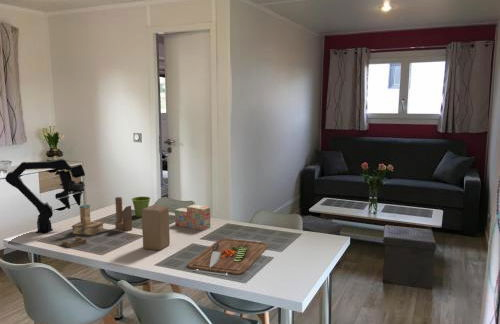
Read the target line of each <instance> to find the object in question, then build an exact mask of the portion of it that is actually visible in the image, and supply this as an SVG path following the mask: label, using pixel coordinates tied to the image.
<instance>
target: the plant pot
mask: <svg viewBox="0 0 500 324" xmlns="http://www.w3.org/2000/svg"><path fill="white" fill-rule="evenodd" d="M150 200H151V196H136V197H135V196H134V197H132V198H131V201H132V204H133V209H134V213H135V217H137V218H142V209H145V208H147V207H149V205H150Z"/></svg>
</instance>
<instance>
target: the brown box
mask: <svg viewBox="0 0 500 324" xmlns="http://www.w3.org/2000/svg"><path fill="white" fill-rule="evenodd" d="M71 228H72V234H74V235H86V236H87V235H89V236H95V235H97V234H99V233H102V231H104V222H102V221H91V225H88V226H81V221H79V222H78V223H75V224H73V225H71Z"/></svg>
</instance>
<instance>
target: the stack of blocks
mask: <svg viewBox="0 0 500 324" xmlns="http://www.w3.org/2000/svg"><path fill="white" fill-rule="evenodd" d="M174 221H175V225H176V226H179V227H184V228H190V229H195V230H199V231H206V230H207V229H211V206H210V207H209V206H205V205H198V204H191V205H189V206H186V207H180V208H176V209H175V210H174Z"/></svg>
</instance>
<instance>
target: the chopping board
mask: <svg viewBox="0 0 500 324" xmlns="http://www.w3.org/2000/svg"><path fill="white" fill-rule="evenodd" d="M269 245H270V244H269V243H268V242H263V241H260V240H251V239H241V238H234V237H233V238H220V239H218V240H217V241H216V242H214V243H213V244H212V245H210V246H209V247H208V248H206V249H205V250H203V251H202V252H201V253H200V254H198V255H196V256H195V257H194V258H193V259H191V260H190V261H189V262H188V263H187V264H186V266H187V268H189V269H191V270H192V269H193V270H192V272H196V273H204V274H210V275H218V276H223V277H229V274H230V275H238V276H239V275H243V274H245V273H247V271H248V270H249V269H250V268H251V267H252V266H253V264H255V262H257V260H258V259H259V258H260V257H261V256H262V255H263V253H264V252H265V251H266V250H267V249H268V248H269Z"/></svg>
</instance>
